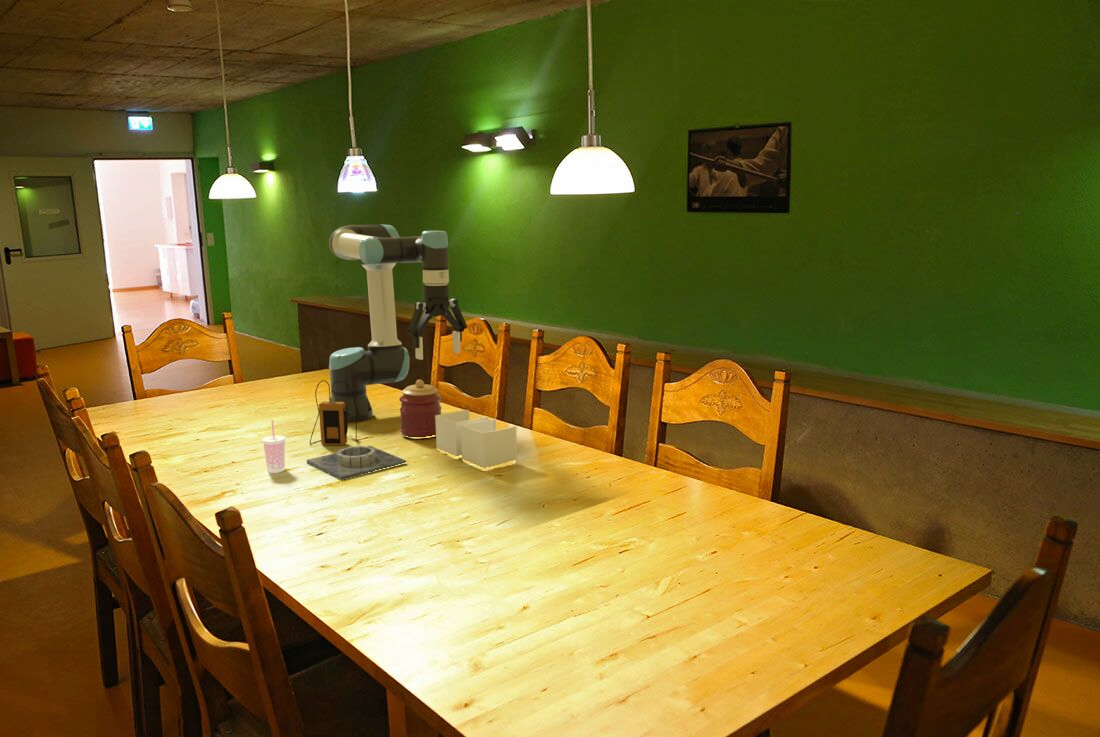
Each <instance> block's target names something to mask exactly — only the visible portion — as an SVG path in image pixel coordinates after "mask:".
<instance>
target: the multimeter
mask: <svg viewBox="0 0 1100 737" xmlns="http://www.w3.org/2000/svg"><path fill="white" fill-rule="evenodd" d="M322 382H325V383H326V384H327V385H328V394H329V396H328V401H326V400H325V401H321V402H320V403H319V404H318V399H317V390H318V388H319V385H320V384H321V383H322ZM337 382H343V381H337ZM337 382H335V383H337ZM335 383H334V384H335ZM343 383H345V382H343ZM334 384H333V386H334ZM345 384H346V383H345ZM346 385H347V386H348V384H346ZM333 386H332V390H333ZM348 387H349V386H348ZM349 389H350V387H349ZM350 391H351V389H350ZM314 392H315V395H314V396H315V402H316V406H317V410H318V413H317V417H316V421H315V423H314V426H313V428H312V432H311V435H310V439H309V445H313V444H316V443H319V442H321V445H322V446H325V445H326V446H340V445H341V446H340V447H343V446H345V445H346V444H347V443H348V438H350V439H353V441H355V440H356V441H355V442H356V444H360V443H359V441H360V440H359V439H357V437H358V436H357V430H358V428H357V426H358V424H357V423H358V422H357V409H356V422H355V438H354V437H352V435H350V436H348V430H349V429H348V428H349V424H348V422H347V413H346V409H345V402H335V400H334V393H332V395H333V398H332V401H333V402H331V385H330V384H329V382H328V381H326V380H321V381H319V382H318V383H317V385H316V389H315V391H314ZM351 393H352V391H351ZM352 396H353V393H352ZM353 399H354V396H353ZM354 403H355V399H354ZM355 408H356V403H355ZM318 419H319V420H318ZM318 421H319V428H320V430H319V431H320V440H316V441H314V442H311V441H312V437H313V434H314V431H315V428H316V424H317V422H318ZM318 441H319V442H318ZM312 443H313V444H312Z"/></svg>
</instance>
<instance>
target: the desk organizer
mask: <svg viewBox="0 0 1100 737" xmlns="http://www.w3.org/2000/svg"><path fill="white" fill-rule="evenodd" d="M435 420H436V437H435V441H436V442H435V443H436V444H435V446H436V449H437V448H438V449H440V450H443V451H445V452H448V453H450V454H452V455H455V456H459V455H462V459H464V460H466V461H469V462H471V463H473V464H476V465H478V466H480V467H483V468H486V467H491V466H495V465H499V464H502V463H506V462H509V461H513V460H517V461H518V453H517V452H518V447H517V446H518V444H517V443H518V441H517V437H518V436H517V435H518V434H517V426H516V425H512V426H510V427H505V428H501V429H497V419H495V418H490V419H489V416H487V415H484V416H483V417H482V416H481V417H478V418H472V419H470V410H469V409H462V410H458V411H452V412H447V413H441V415H435ZM462 459H461V460H462Z"/></svg>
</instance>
